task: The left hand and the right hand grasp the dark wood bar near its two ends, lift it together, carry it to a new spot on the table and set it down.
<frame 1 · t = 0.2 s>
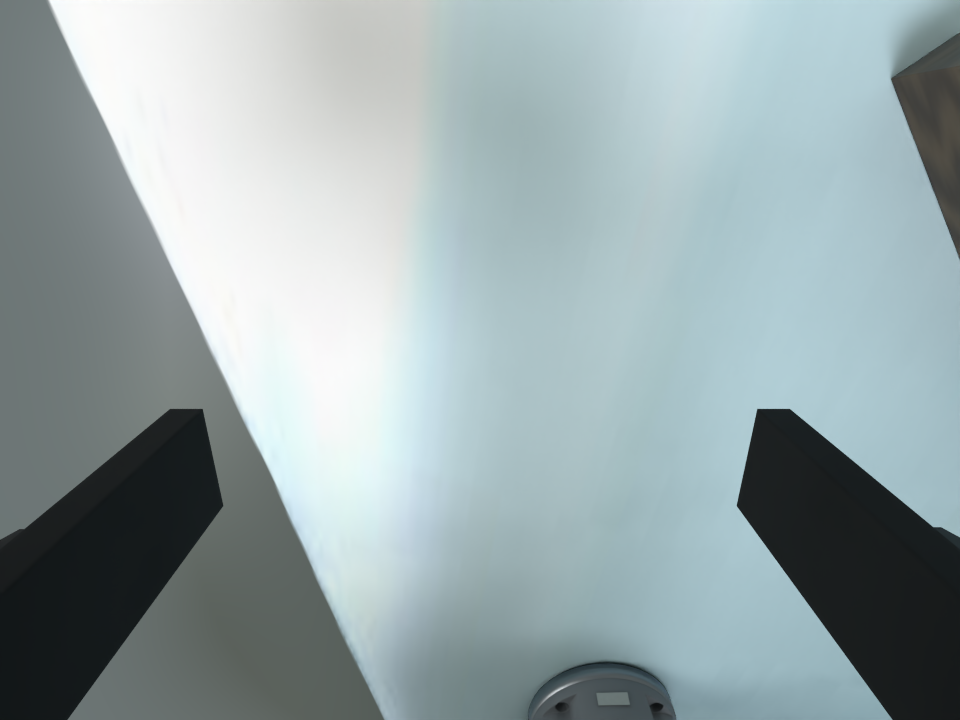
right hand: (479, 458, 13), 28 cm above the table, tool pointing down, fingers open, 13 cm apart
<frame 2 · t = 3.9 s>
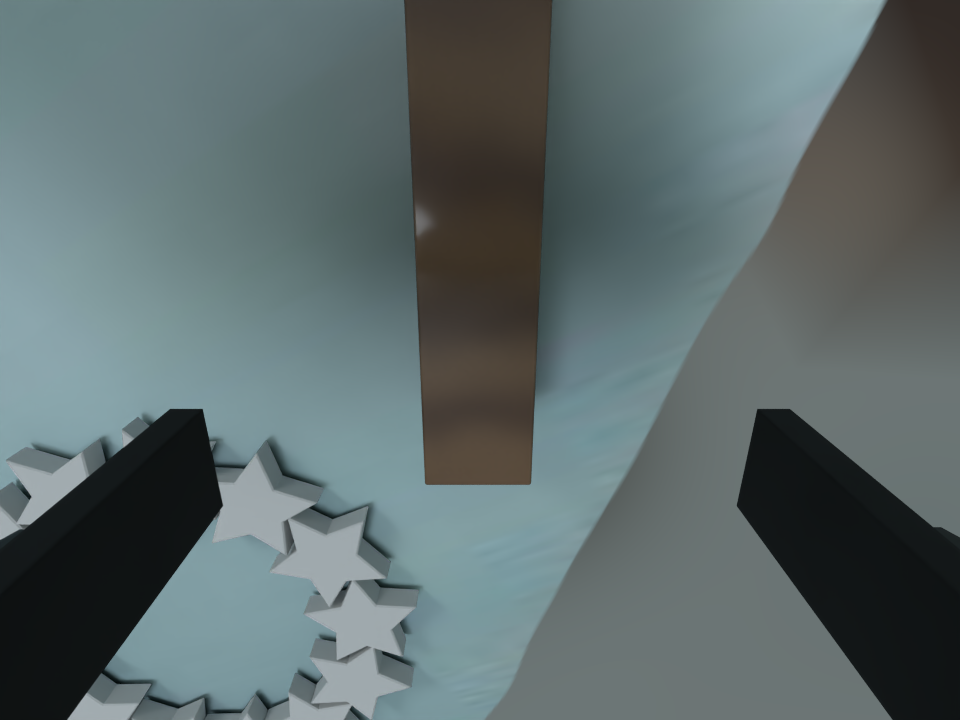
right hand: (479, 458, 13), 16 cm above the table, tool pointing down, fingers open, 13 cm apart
decorative wreath: (198, 611, 36), on the table
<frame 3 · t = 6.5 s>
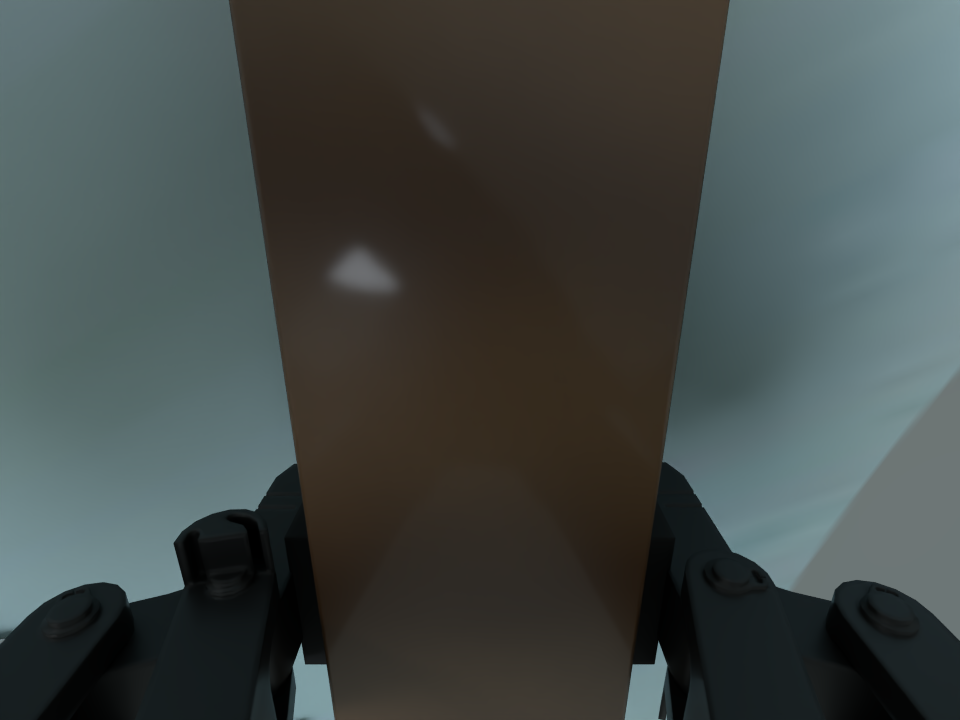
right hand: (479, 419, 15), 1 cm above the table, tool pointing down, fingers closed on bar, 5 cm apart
when the right hand's fingers open (2 cm above the table, at t = 11.3 s): bar stays where it is, on the table.
when the left hand's fingers open (4 cm above the table, at t = 11.4 s): bar stays where it is, on the table.
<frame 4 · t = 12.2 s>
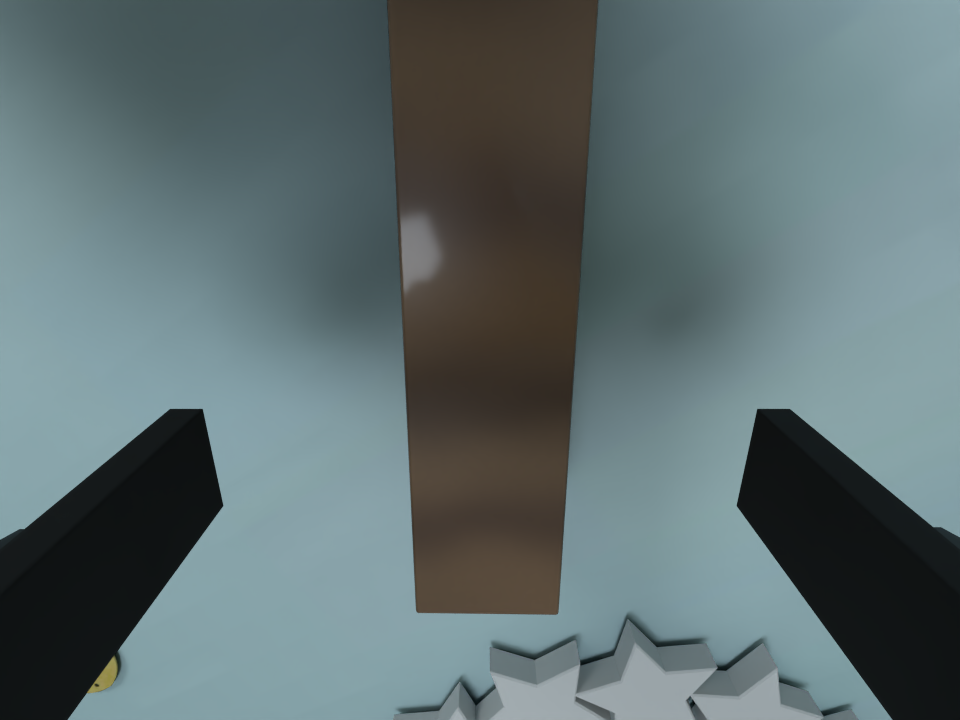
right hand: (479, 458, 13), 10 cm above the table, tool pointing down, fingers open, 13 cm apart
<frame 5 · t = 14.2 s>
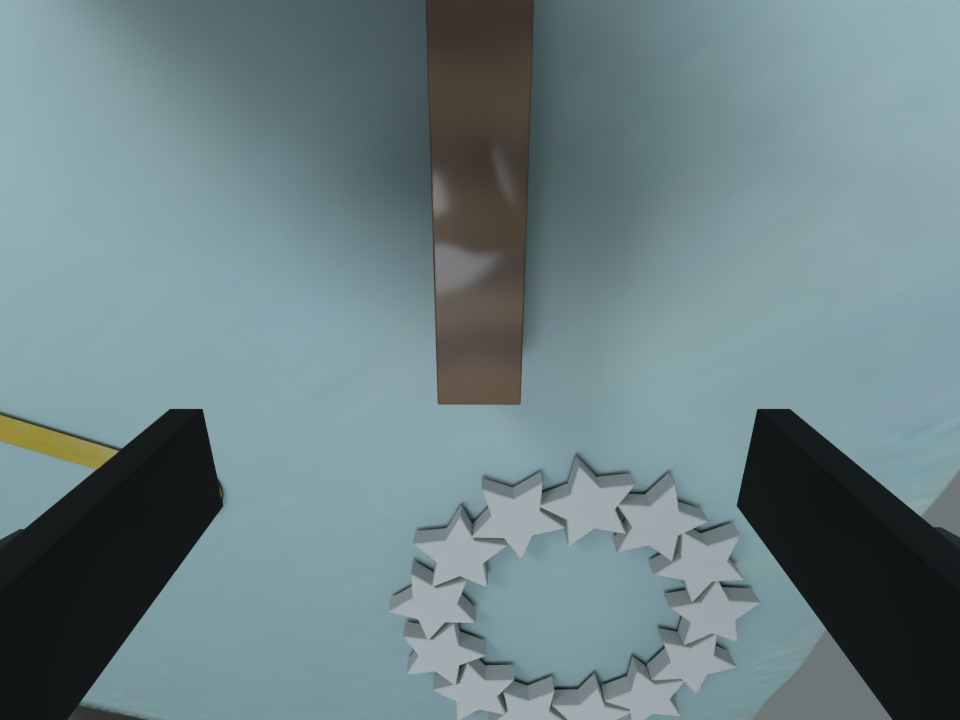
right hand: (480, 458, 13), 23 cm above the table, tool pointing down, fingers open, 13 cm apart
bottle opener: (89, 459, 40), on the table
decorative wreath: (568, 605, 45), on the table
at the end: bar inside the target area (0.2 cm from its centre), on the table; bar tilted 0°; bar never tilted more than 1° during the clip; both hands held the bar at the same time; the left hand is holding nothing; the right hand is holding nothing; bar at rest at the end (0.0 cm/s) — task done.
